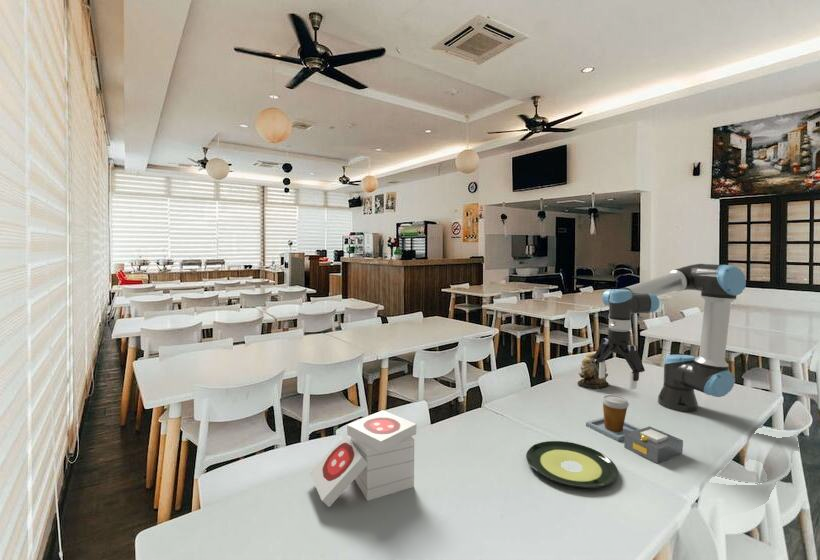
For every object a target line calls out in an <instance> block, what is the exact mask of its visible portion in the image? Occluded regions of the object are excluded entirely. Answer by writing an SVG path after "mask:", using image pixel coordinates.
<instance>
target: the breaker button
mask: <svg viewBox="0 0 820 560" xmlns="http://www.w3.org/2000/svg"><path fill="white" fill-rule="evenodd" d="M642 435H645V436H647V437H648V439H649V440H651V441H653V442H655V443H659V442H662V441H665V440H667V439H668V436H666V435H664V434H661V433H659V432H657V431H654V430H652V429H650V430H646V431H643V432H640V436H642Z"/></svg>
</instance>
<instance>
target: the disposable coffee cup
mask: <svg viewBox="0 0 820 560" xmlns="http://www.w3.org/2000/svg"><path fill="white" fill-rule="evenodd" d="M601 403H602V407H603V409H602V410H603V417H604V423H605V428H606V429H608V430H610V431H613V432H621V431H622V430H623V426H624V422H626V421H625V420H626V416H627V410H628V407H629V406H630V405H629V404H630V403H629V402H628V399H626V398H625V397H622V396H619V395H615V394H614V395H613V394H606V395H603V397H602V399H601Z"/></svg>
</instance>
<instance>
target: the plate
mask: <svg viewBox="0 0 820 560" xmlns="http://www.w3.org/2000/svg"><path fill="white" fill-rule="evenodd" d="M525 457H526V461H527V463H528V465H529V466H530V467H531V468H532V470H534V471H535V472H536V473H538V474H539V475H541V476H542V477H544V478H546V479H548V480H550V481H552V482H554V483H555V482H556V483H558V484H561V485H565V486H568V487H573V488H583V489H596V488H604V487H607V486H610V485H612V484H614V483H615V482H616V481H617V479H618V477H619V470H618V468H617V466H616V464H615V462H613V460H612V459H610V458H609V457H608V456H606V455H605V454H604V453H603V452H600V451H598V450H597V449H595V448H591V447H589V446H585V445H582V444H579V443H576V442H569V441H561V440H560V441H559V440H551V441H548V440H547V441H542V442H538V443H536V444H533V445H532V446H531V447H529V449H528V450H527V452H526V455H525ZM569 460H570V461H575V462H578V463H579V464H581V465H582V466H583V467H582V468H583V469H582V471H580V472H570V471H567V470H565V469H564V468H562V467H561V462H562V463H563V462H564V461H569Z"/></svg>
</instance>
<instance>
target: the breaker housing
mask: <svg viewBox="0 0 820 560" xmlns="http://www.w3.org/2000/svg"><path fill="white" fill-rule="evenodd" d="M650 429H652V430H654V431H657V432H659V433H661V434H664V435H666V436H668V439H667V440H665V441H662V442H659V443H655V442H653V441H651V440H649V439H648V437H647V436H645V435H642V436H640V432H643V431H646V430H650ZM683 446H684V440H683V439H681V438H678V437H676V436H673V435H672V434H669V433H666V432H665V431H662V430H659V429H657V428H654V427H653V426H646V427H643V428H640V430H636V431H633V432H630V433H626V434H625V440H624V446H623V448H624V449H627V450H629V451H631V452H632V453H635V454H637V455H639V456H640V457H643V458H645V459H647V460H649V461H651V462H652V463H653V462H654V463H655V464H660V463H663V462H665V461H668V460H670V459H673V458H676V457H679V456H681V455H683V450H684V449H683Z"/></svg>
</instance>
